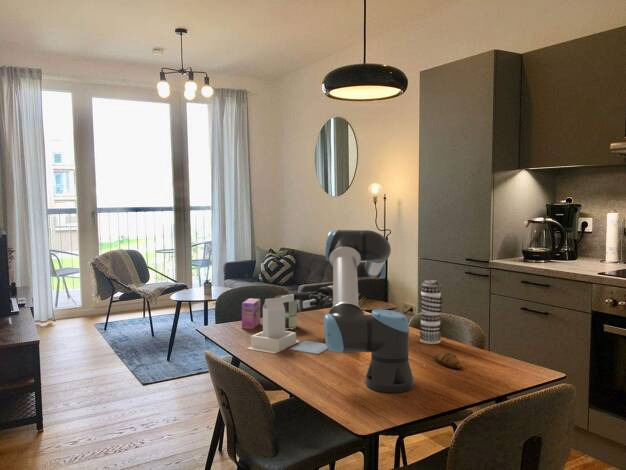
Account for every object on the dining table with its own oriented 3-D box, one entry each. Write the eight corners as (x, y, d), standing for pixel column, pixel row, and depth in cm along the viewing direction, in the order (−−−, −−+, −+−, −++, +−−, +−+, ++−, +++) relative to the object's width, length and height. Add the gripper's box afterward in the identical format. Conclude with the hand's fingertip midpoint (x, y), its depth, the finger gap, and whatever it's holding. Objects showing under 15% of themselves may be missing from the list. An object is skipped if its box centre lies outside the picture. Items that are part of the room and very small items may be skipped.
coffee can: (277, 330, 233) (277, 299, 232) (272, 325, 243) (272, 295, 242) (300, 328, 236) (300, 297, 235) (294, 323, 246) (293, 293, 245)
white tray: (274, 353, 199) (274, 342, 199) (246, 349, 206) (246, 337, 205) (300, 341, 216) (299, 330, 216) (273, 337, 222) (273, 326, 222)
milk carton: (285, 346, 209) (285, 299, 207) (268, 348, 206) (267, 300, 205) (279, 342, 216) (279, 296, 214) (262, 343, 213) (262, 297, 211)
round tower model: (414, 340, 217) (414, 280, 215) (427, 336, 223) (428, 278, 221) (432, 345, 210) (433, 283, 208) (446, 341, 217) (447, 280, 215)
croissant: (467, 369, 183) (468, 355, 182) (452, 372, 180) (452, 357, 179) (443, 358, 195) (443, 345, 195) (428, 360, 192) (428, 347, 192)
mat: (318, 354, 198) (318, 353, 198) (288, 349, 205) (288, 348, 205) (333, 345, 210) (333, 345, 210) (305, 341, 216) (305, 340, 216)
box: (253, 329, 236) (253, 303, 235) (241, 328, 237) (241, 302, 236) (260, 323, 246) (260, 298, 245) (249, 323, 247) (248, 298, 246)
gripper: (349, 308, 222) (313, 316, 208) (309, 299, 241) (273, 306, 226) (349, 290, 222) (313, 297, 207) (309, 282, 240) (273, 288, 225)
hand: (292, 302), depth 217 cm, fingers open, 13 cm apart
